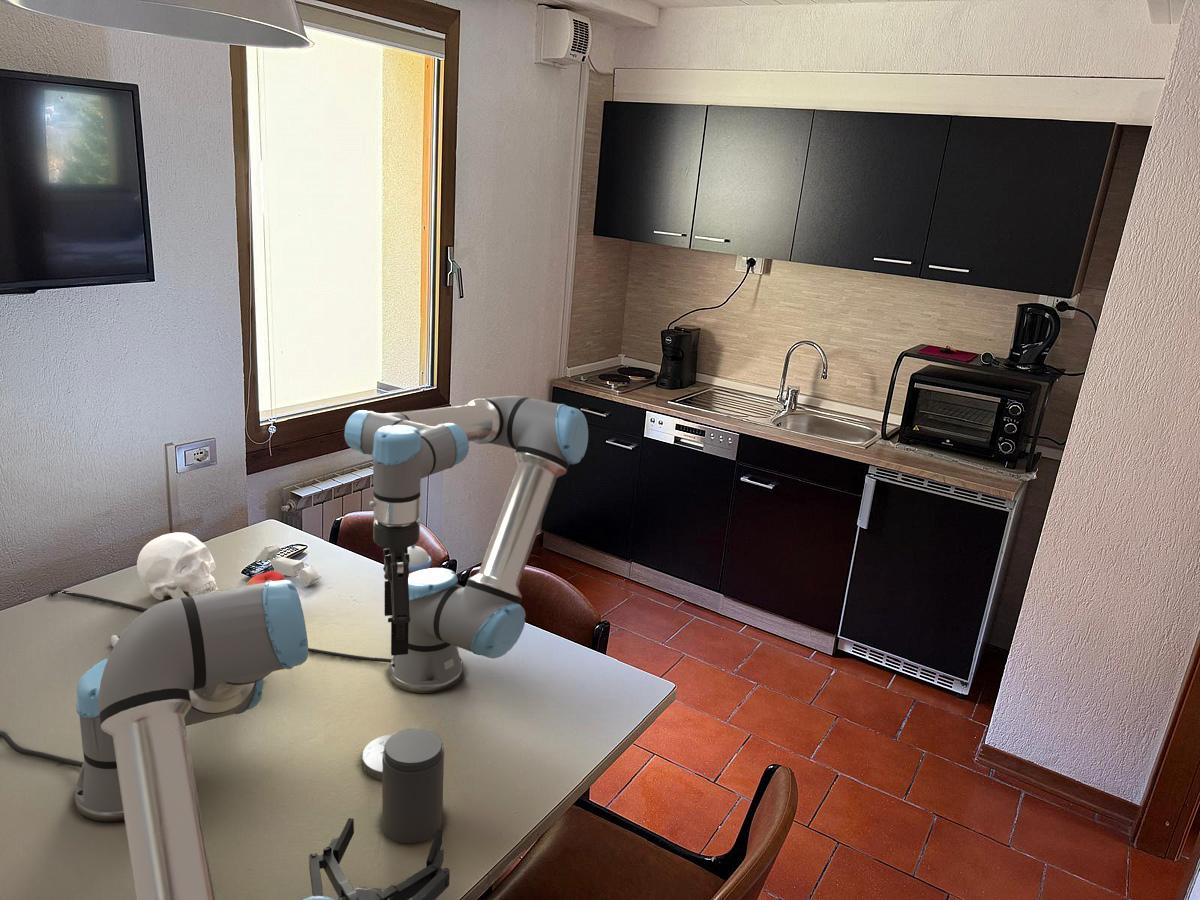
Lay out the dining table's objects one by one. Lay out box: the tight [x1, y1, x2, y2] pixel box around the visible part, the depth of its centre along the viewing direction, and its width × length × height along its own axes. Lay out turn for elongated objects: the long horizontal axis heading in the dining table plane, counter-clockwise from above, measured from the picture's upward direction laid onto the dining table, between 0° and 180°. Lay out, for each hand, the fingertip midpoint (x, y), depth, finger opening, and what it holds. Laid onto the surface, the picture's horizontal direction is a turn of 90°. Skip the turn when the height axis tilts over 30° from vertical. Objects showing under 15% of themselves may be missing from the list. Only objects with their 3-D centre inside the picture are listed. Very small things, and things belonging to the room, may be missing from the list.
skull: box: [136, 531, 220, 601], centre depth 203 cm, size 13×22×16 cm, turn 73°
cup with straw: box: [408, 544, 433, 574], centre depth 211 cm, size 9×9×18 cm
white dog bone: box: [254, 544, 322, 587], centre depth 219 cm, size 20×4×7 cm, turn 62°
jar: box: [381, 727, 445, 844], centre depth 138 cm, size 10×10×15 cm
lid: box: [361, 733, 394, 781], centre depth 155 cm, size 11×11×2 cm
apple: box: [245, 570, 287, 586], centre depth 199 cm, size 10×10×10 cm
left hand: (395, 830), depth 129 cm, fingers open, 13 cm apart
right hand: (395, 633), depth 147 cm, fingers open, 13 cm apart
